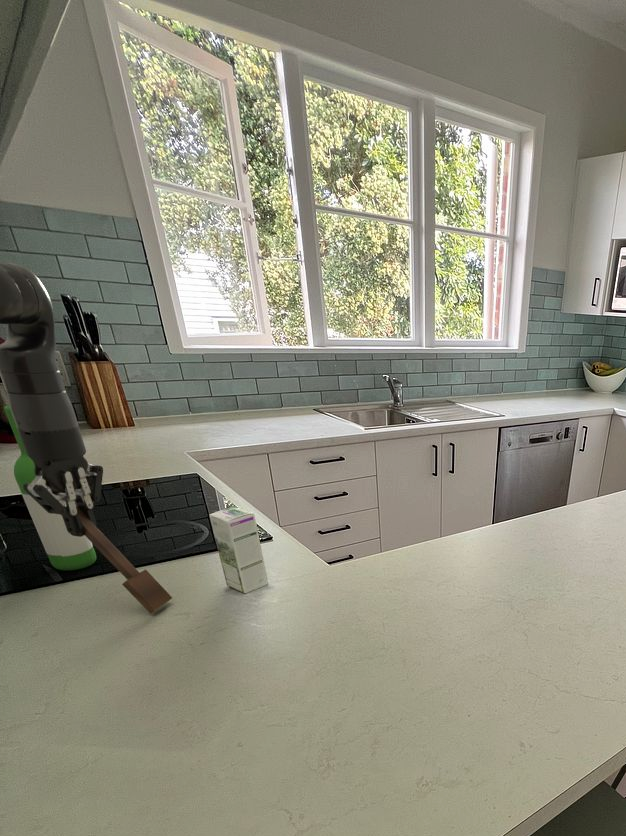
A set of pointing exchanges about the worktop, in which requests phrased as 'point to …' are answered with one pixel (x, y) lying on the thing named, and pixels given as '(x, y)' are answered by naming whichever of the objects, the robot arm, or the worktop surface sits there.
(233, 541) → the syrup box
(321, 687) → the worktop surface
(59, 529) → the wine bottle
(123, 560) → the brown paddle
